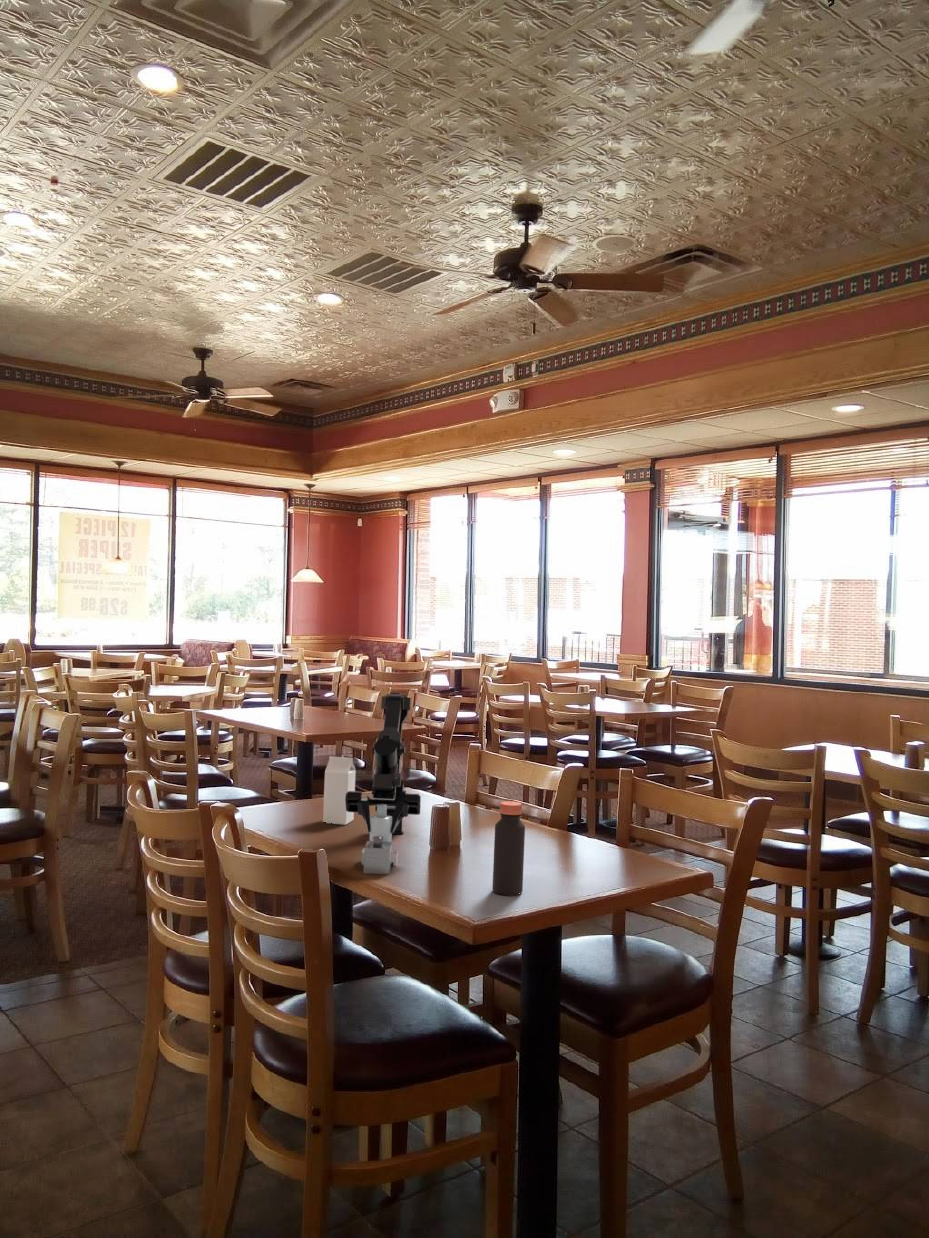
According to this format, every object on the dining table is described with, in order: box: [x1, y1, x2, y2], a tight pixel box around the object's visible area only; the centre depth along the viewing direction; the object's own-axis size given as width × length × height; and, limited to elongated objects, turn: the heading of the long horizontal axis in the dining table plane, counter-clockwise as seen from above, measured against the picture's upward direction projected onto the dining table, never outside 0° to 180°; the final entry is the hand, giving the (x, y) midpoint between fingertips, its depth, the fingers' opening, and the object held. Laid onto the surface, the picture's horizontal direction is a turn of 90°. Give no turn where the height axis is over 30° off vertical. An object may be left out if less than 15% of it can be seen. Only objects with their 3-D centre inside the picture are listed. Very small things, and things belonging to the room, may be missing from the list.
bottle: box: [491, 800, 526, 896], centre depth 215 cm, size 7×7×20 cm
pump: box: [369, 804, 393, 842], centre depth 236 cm, size 5×5×13 cm
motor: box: [360, 836, 399, 875], centre depth 231 cm, size 12×9×8 cm
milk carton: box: [322, 755, 357, 826], centre depth 280 cm, size 7×7×19 cm
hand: (380, 831), depth 234 cm, fingers closed on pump, 5 cm apart
